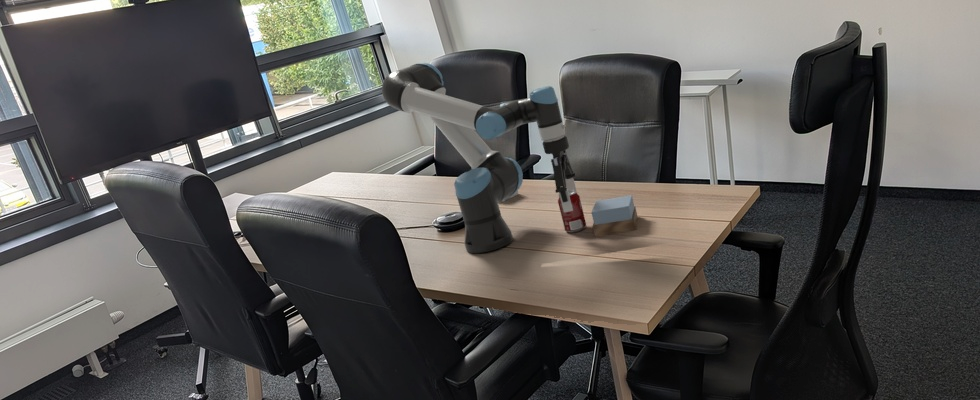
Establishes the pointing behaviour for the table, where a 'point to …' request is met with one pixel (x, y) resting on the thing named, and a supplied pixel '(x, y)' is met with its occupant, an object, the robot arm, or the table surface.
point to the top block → (613, 210)
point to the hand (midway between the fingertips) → (571, 204)
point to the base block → (616, 226)
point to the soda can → (573, 214)
